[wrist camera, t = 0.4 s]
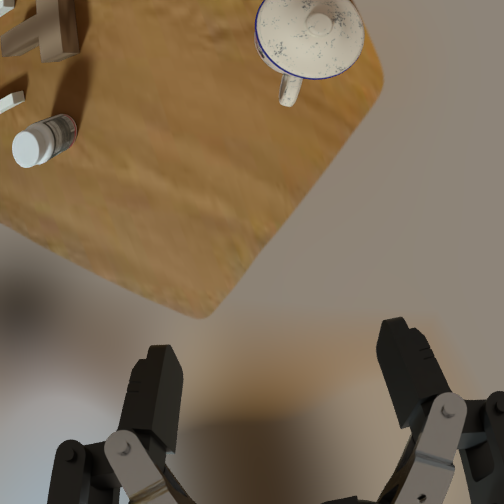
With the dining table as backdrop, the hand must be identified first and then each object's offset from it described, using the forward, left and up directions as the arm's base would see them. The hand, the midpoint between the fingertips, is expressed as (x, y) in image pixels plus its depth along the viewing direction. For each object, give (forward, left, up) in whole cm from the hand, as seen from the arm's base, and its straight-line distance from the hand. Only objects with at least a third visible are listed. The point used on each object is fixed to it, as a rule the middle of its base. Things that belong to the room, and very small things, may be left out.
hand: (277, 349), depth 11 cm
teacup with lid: (-12, +5, -27) cm, 30 cm away
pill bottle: (-8, -23, -27) cm, 36 cm away
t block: (-22, -23, -27) cm, 41 cm away
